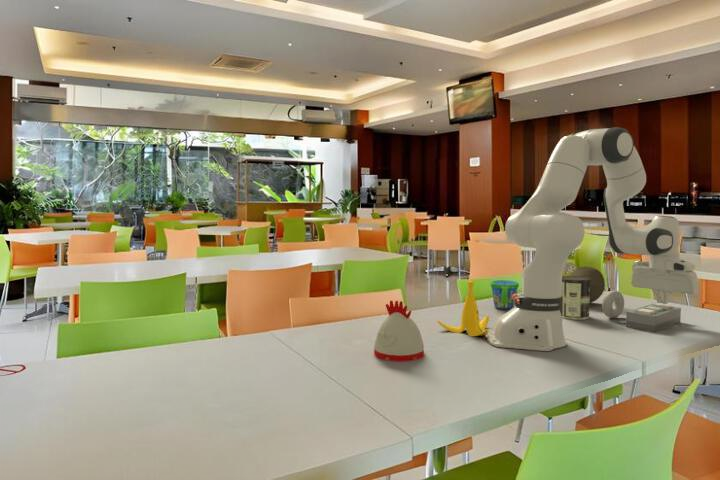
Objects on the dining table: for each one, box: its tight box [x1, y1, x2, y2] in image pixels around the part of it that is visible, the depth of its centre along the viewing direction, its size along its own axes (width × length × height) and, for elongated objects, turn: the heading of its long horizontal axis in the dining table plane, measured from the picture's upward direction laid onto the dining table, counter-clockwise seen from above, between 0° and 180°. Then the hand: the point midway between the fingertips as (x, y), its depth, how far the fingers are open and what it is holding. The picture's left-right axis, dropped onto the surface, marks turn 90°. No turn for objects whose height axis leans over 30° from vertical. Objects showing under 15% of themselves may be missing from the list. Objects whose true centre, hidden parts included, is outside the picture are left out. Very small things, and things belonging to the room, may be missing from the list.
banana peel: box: [436, 280, 490, 337], centre depth 169 cm, size 17×19×17 cm
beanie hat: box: [373, 300, 425, 362], centre depth 146 cm, size 14×14×15 cm
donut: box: [601, 289, 625, 319], centre depth 185 cm, size 10×3×10 cm, turn 119°
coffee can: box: [561, 275, 590, 321], centre depth 188 cm, size 10×10×14 cm
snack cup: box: [490, 279, 520, 311], centre depth 204 cm, size 16×10×10 cm
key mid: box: [645, 306, 663, 312], centre depth 176 cm, size 4×4×2 cm
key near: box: [637, 309, 655, 315], centre depth 172 cm, size 4×4×2 cm
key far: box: [653, 303, 672, 310], centre depth 180 cm, size 4×4×2 cm
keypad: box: [625, 303, 682, 333], centre depth 176 cm, size 20×9×5 cm, turn 128°
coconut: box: [569, 266, 606, 304], centre depth 209 cm, size 14×14×15 cm
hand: (662, 303), depth 180 cm, fingers closed
